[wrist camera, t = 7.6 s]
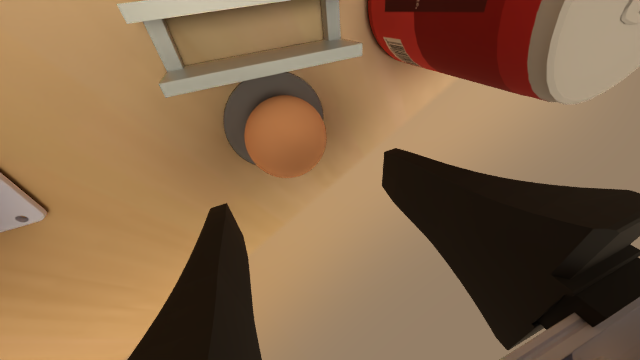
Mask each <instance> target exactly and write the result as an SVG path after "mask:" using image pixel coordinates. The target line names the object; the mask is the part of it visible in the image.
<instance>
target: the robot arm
mask: <svg viewBox="0 0 640 360" xmlns="http://www.w3.org/2000/svg"><path fill="white" fill-rule="evenodd" d="M382 186H383V188H384V189H385V191H386V192H387V194H388V195H389V197H390V198H391V199H392V201H393V202H394V203H395V204H396V205H397V206H398V207H399V209H400V210H401V211H402V212H403V213H404V214H405V215H406V216H407V217H408V218H409V219H410V220H411V221H412V222H413V223H414V224H415V225H416V227H417V228H419V230H420V231H421V232H422V233H423V234H424V235H425V236H426V237H427V238H428V239H429V241H430V242H431V243H432V244H433V245H434V247H435V248H436V249H437V250H438V252H439V253H440V254H441V256H442V257H443V258H444V259H445V261H446V262H447V263H448V265H449V266H450V267H451V269H452V270H453V272H454V273H455V274H456V276H457V277H458V279H459V280H460V281H461V283H462V284H463V286H464V287H465V289H466V290H467V292H468V293H469V295H470V296H471V298H472V299H473V301H474V302H475V304H476V305H477V307H478V309H479V310H480V312H481V313H482V315H483V317H484V318H485V320H486V321H487V323H488V325H489V326H490V328H491V330H492V331H493V333H494V335H495V337H496V338H497V339H498V340H499V341H500V343H501V344H502V345H503V346H504V347H505V348H506V349H507V350H510V349H511V348H513V347H514V346H516V345H517V344H519V343H520V342H522V341H524V340H525V339H527V338H529V337H530V336H532V335H534V334H535V333H537V332H538V331H540V330H541V329H543V328H545V329H546V331H544V332H543V333H541V334H539V335H538V336H536V337H535V338H533V339H532V340H530V341H529V342H527V343H525V344H524V345H522V346H521V347H519V348H517V349H516V350H514V351H513V352H511V353H509V354H508V355H506V356H505V357H503V358H501V359H500V360H640V258H638V256H640V250H639V249H637V248H635V247H634V246H632V245H630V244H631V243H632V242H633V241H634V240H636V239H637V238H638V237H639V236H640V194H639V193H637V192H633V191H630V190H615V189H598V188H579V187H569V186H558V185H548V184H540V183H533V182H525V181H519V180H513V179H507V178H502V177H497V176H492V175H487V174H482V173H478V172H474V171H470V170H467V169H462V168H459V167H455V166H452V165H449V164H445V163H442V162H439V161H436V160H432V159H430V158H427V157H423V156H420V155H417V154H414V153H411V152H408V151H404V150H400V149H397V148H395V149H392V150H389V151H386V152H384V164H383V179H382ZM46 215H47V211H46V210H45V209H44V208H43V207H41V206H40V205H39V204H38V203H36V202H35V201H34V200H33V199H32V198H30V197H29V196H28V195H27V194H26V193H24V192H23V191H22V190H21V189H20V188H18V187H17V186H16V185H15V184H14V183H12V182H11V181H10V180H9V179H8V178H6V177H5V176H4V175H3V174H2V173H0V233H1V232H4V231H7V230H11V229H14V228H18V227H21V226H25V225H28V224H32V223H35V222H39V221H41V220H43V219H44V218H45V216H46ZM21 216H25V217H27V218H24V217H21ZM128 360H262V359H261V354H260V349H259V343H258V338H257V333H256V328H255V322H254V315H253V306H252V295H251V284H250V273H249V264H248V255H247V251H246V246H245V242H244V237H243V235H242V233H241V231H240V229H239V227H238V225H237V223H236V221H235V219H234V217H233V215H232V213H231V211H230V209H229V207H228V205H227V203H226V204H223V205H220V206H216V207H213V208H211V209H210V211H209V213H208V216H207V218H206V221H205V224H204V226H203V229H202V231H201V233H200V236H199V238H198V240H197V243H196V245H195V247H194V249H193V252H192V254H191V256H190V258H189V260H188V262H187V264H186V266H185V268H184V270H183V272H182V274H181V276H180V278H179V280H178V282H177V284H176V285H175V287H174V289H173V291H172V292H171V294H170V296H169V298H168V299H167V301H166V303H165V304H164V306H163V308H162V309H161V311H160V312H159V314H158V316H157V317H156V319H155V320H154V322H153V323H152V325H151V326H150V328H149V329H148V331H147V332H146V334H145V335H144V337H143V338H142V340H141V341H140V342H139V344H138V345H137V347H136V348H135V350H134V351H133V353H132V354H131V356H130V357H129V358H128Z"/></svg>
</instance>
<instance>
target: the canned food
mask: <svg viewBox="0 0 640 360" xmlns="http://www.w3.org/2000/svg"><path fill="white" fill-rule="evenodd" d="M368 14H369V21H370V25H371V29H372V32H373V35H374V36H375V38H376V40H377V42H378V43H379V45H380V46H381V47H382V48H383V49H384V50H385V51H386V52H387V53H388V55H390V56H391V57H393V58H394V59H396V60H398V61H401V62H404V63H408V64H411V65H415V66H419V67H422V68H426V69H429V70H433V71H437V72H440V73H444V74H448V75H451V76H455V77H458V78H462V79H466V80H469V81H473V82H477V83H480V84H484V85H487V86H491V87H494V88H498V89H502V90H505V91H509V92H512V93H516V94H520V95H524V96H529V97H533V98H537V99H540V100H544V101H548V102H559V103H562V104H578V103H581V102H585V101H588V100H590V99H592V98H594V97H596V96H598V95H600V94H602V93H604V92H606V91H607V90H608V89H610V88H612V87H613V86H615V85H616V84H617V83H619V82H620V81H622V80H623V79H624V78H625V77H627V76H628V75H629V74H631V73H632V72H633V71H634V70H635V69H637V68H638V67H639V66H640V0H368Z"/></svg>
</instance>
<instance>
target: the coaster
mask: <svg viewBox="0 0 640 360" xmlns="http://www.w3.org/2000/svg"><path fill="white" fill-rule="evenodd" d="M280 95H288V96H294V97H298V98H300V99H303V100H304V101H306V102H308V103H309V104H310V105H312V106H313V107H314V108H315V109H316V110H317V112H318V113H319V114H320V116H321V118H322V120H323V110H322V106H321V103H320V100H319V98H318V96H317V94H316V93H315V91H314V90H313V89H312V88H311V86H310V85H309V84H307V83H306V82H305V81H304V80H302V79H301V78H299V77H298V76H295V75H293V74H291V73H288V72H284V73H279V74H275V75H270V76H265V77H260V78H256V79H251V80H246V81H242V82H241V83H240V84H239V85H238V86H237V87H236V88H235V89H234V90H233V92H232V93H231V95H230V97H229V99H228V101H227V103H226V107H225V110H224V128H225V133H226V136H227V139H228V141H229V143H230V145H231V146H232V148H233V149H234V150H235V152H236V153H237V154H238V155H239V156H241V157H242V158H243V159H245V160H246V161H248V162H250V163H252V164H254V165H256V164H255V163H254V162H253V160H252V159H251V157H250V155H249V153H248V151H247V149H246V145H245V138H244V132H245V126H246V123H247V120H248V118H249V116H250V114H251V112H252V111H253V110H254V109H255V108H256V107H257V106H258V105H259V104H260V103H262V102H263V101H265V100H267V99H269V98H271V97H274V96H280Z"/></svg>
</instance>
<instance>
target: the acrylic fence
mask: <svg viewBox="0 0 640 360" xmlns="http://www.w3.org/2000/svg"><path fill="white" fill-rule="evenodd" d="M282 1H289V0H145V1H137V2H129V3H122V4H117V6H118V8H119V10H120V11H121V13H122V15H123V17H124V19H125V21H126V23H127V24H130V23H137V22H143V23H144V25H145V27H146V29H147V31H148V33H149V35H150V37H151V39H152V42H153V44H154V46H155V48H156V50H157V52H158V54H159V56H160V58H161V60H162V62H163V64H164V66H165V68H166V70H167V73H166V74H165V75H164V77H163V78H162V80H161V81H160V82H159V86H160V88H161V90H162V92H163V94H164V96H165V98H167V97H171V96H176V95H181V94H185V93H190V92H195V91H199V90H204V89H209V88H213V87H218V86H223V85H228V84H232V83H237V82H242V81H246V80H251V79H256V78H260V77H265V76H270V75H275V74H279V73H284V72H289V71H293V70H298V69H303V68H307V67H312V66H317V65H321V64H326V63H331V62H336V61H340V60H345V59H350V58H354V57H359V56H362V43H359V42H354V41H350V40H345V39H341V34H340V13H339V0H321V12H322V23H323V34H324V40H319V41H314V42H309V43H303V44H298V45H293V46H287V47H282V48H277V49H271V50H266V51H261V52H256V53H250V54H245V55H240V56H234V57H229V58H224V59H218V60H213V61H208V62H203V63H197V64H192V65H187V66H184V64H183V61H182V59H181V57H180V54H179V52H178V50H177V48H176V45H175V43H174V41H173V38H172V36H171V34H170V31H169V29H168V27H167V25H166V22H165V20H164V18H171V17H178V16H185V15H192V14H199V13H206V12H213V11H219V10H226V9H233V8H240V7H247V6H254V5H261V4H268V3H275V2H282Z"/></svg>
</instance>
